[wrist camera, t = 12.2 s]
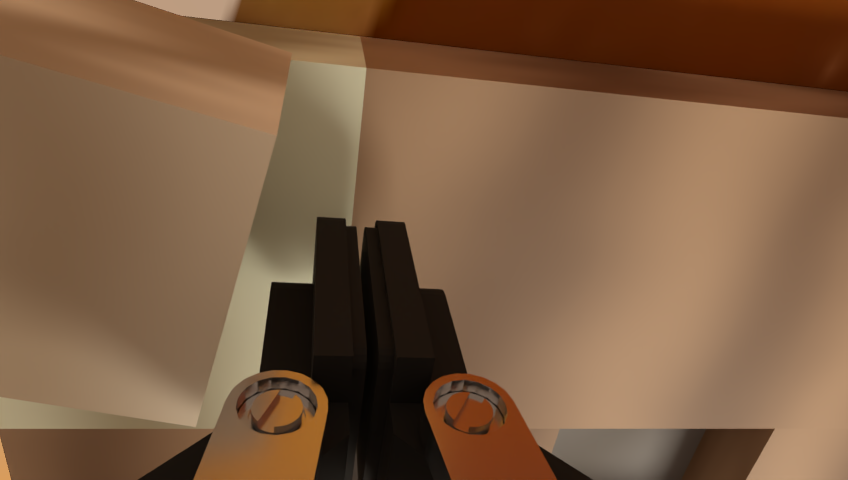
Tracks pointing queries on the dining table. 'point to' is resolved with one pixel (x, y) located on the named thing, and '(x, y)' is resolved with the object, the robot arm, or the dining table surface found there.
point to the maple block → (125, 199)
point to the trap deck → (554, 255)
